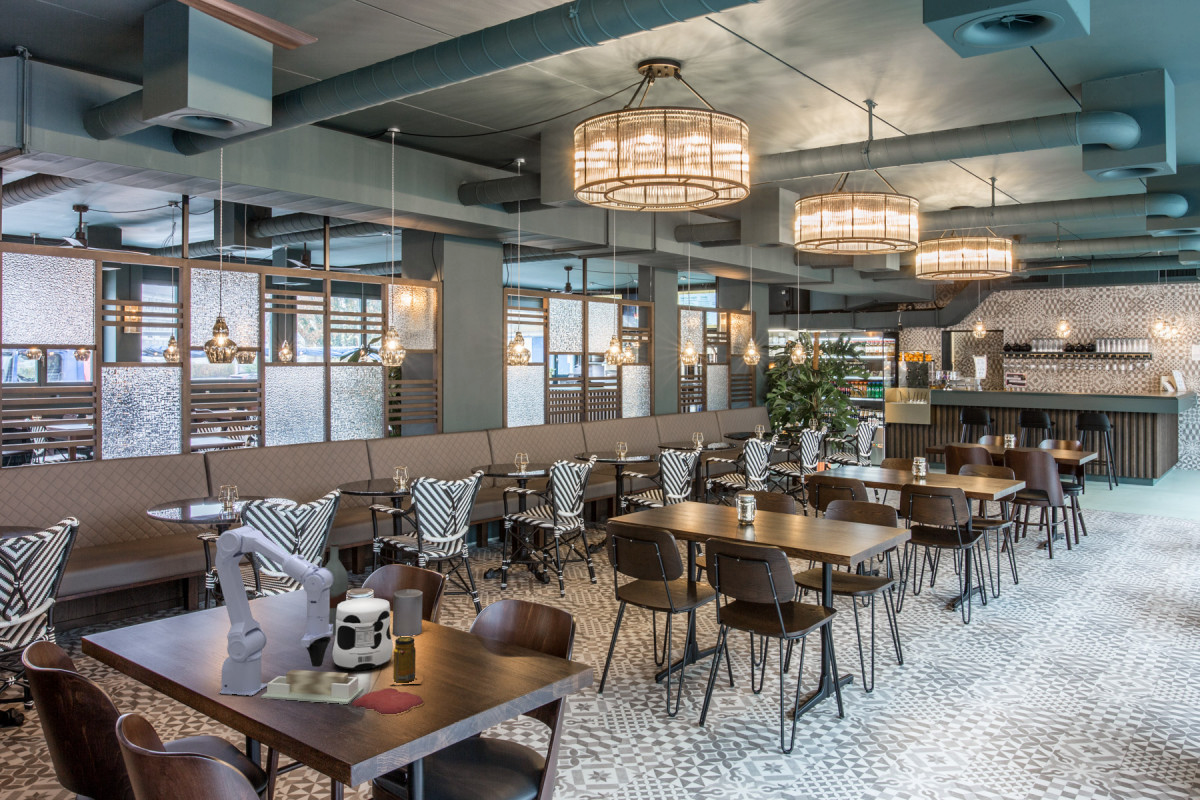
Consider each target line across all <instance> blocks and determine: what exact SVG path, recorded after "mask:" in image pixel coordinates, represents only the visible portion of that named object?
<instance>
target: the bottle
mask: <svg viewBox="0 0 1200 800" xmlns="http://www.w3.org/2000/svg"><path fill="white" fill-rule="evenodd" d="M329 551H330V553H329V560H328V562H327V563H326V564H325V566H324V568H327V569H328V570H329V571H330V572H331V573H332V574H333V578H334V580H333V584H332V585H331V586H330V587H329V588H330V601H329V624H333V634H332V635H331V636H336V613H337V606H338V604H339V603H341V602H344V601H347V598H346V594H348V586H349V577H348V572H347V569H346V568H345V567H344V565H343V564H342V562H341V560H340V559H339V543H338V542H330V550H329ZM329 588H328V589H329ZM326 590H327V589H326Z"/></svg>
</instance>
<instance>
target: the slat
mask: <svg viewBox="0 0 1200 800" xmlns="http://www.w3.org/2000/svg"><path fill="white" fill-rule="evenodd" d="M285 677H286V684H290V692H291V693H306V694H321V695H331V690H332V683H340V684H348V677H349V673H348V672H334V671H318V670H317V671H316V670H304V669H303V670H299V669H290V670H288V672H286V673H285Z"/></svg>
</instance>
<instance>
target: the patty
mask: <svg viewBox="0 0 1200 800" xmlns="http://www.w3.org/2000/svg"><path fill="white" fill-rule="evenodd" d="M423 702H424V703H425V701H424V700H423V698H422V697H421V696H420V695H418V694H412V693H410V692H407V691H399V690H398V689H395V688H393V687H389V688H388V687H387V688H383V689H380V690H376V691H370V692H367V693H365V694H364V695H362V696H361V697H359V698H355V699H354V700H353V701H352V703H351V706H352V705H353V706H356V707H365V708H366V709H374V710H375V711H377V712H379V713H381V714H397V713H401V712H404V711H407V710H409V709H410V708H411V707H413V706H417V705H420V704H422V703H423ZM353 706H352V707H353ZM366 709H365V710H366ZM375 711H374V712H375Z"/></svg>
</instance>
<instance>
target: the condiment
mask: <svg viewBox="0 0 1200 800" xmlns="http://www.w3.org/2000/svg"><path fill="white" fill-rule="evenodd" d="M394 641H395V642H394V643H395V644H394V647H395V648H394V649H393V667H392V668H393V673H392V674H393V678H392V680H393V679H394V682H396V683H409V682H412V681H414V679H415V676H416V655H417V654H416V653H417V652H416V650H417V649H416V647H415V645H416V644H415V638H414V637H413V636H412V637H397V638H395V640H394Z"/></svg>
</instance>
